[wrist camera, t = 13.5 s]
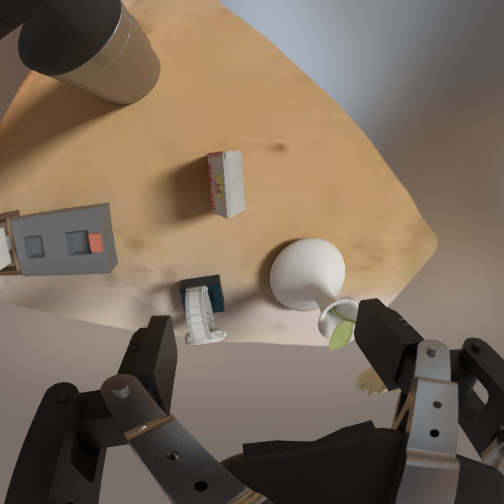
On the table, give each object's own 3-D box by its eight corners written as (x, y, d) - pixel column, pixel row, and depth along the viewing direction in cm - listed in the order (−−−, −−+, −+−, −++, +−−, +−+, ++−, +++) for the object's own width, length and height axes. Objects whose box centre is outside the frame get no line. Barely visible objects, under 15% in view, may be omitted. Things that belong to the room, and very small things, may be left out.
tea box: (237, 151, 36) (244, 149, 26) (241, 202, 38) (248, 217, 28) (209, 154, 35) (205, 152, 26) (213, 204, 38) (211, 220, 28)
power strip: (22, 215, 34) (7, 221, 30) (108, 202, 36) (97, 208, 32) (33, 267, 37) (20, 277, 33) (117, 263, 38) (108, 274, 35)
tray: (-13, 216, 33) (-24, 220, 30) (18, 209, 34) (8, 214, 31) (-2, 269, 36) (-11, 275, 33) (30, 268, 37) (21, 274, 34)
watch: (190, 316, 42) (184, 362, 32) (179, 268, 40) (167, 306, 29) (226, 311, 43) (229, 357, 32) (217, 263, 40) (218, 300, 30)
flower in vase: (264, 305, 43) (306, 443, 20) (271, 232, 40) (341, 340, 16) (342, 304, 45) (424, 414, 21) (355, 237, 41) (472, 321, 18)
